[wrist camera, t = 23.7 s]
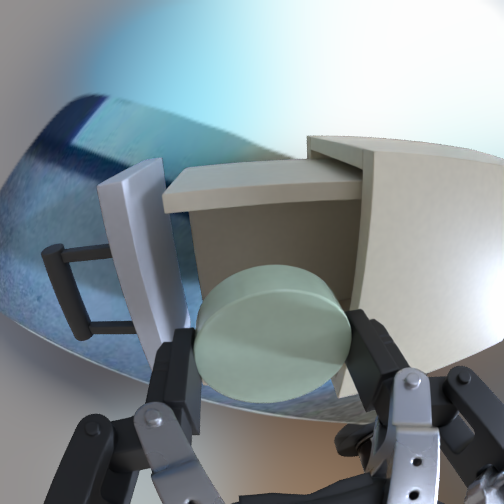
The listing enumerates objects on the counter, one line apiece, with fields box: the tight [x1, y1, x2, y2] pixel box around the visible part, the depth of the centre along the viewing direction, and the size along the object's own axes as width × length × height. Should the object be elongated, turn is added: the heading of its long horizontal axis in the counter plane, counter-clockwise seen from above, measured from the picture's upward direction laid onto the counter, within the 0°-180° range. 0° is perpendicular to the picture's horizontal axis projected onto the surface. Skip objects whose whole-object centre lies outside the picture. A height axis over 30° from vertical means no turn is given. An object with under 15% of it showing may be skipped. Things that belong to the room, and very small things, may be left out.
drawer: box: [41, 157, 363, 385], centre depth 16 cm, size 20×13×7 cm, turn 93°
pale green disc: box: [193, 265, 352, 403], centre depth 11 cm, size 6×6×2 cm
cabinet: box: [307, 136, 504, 398], centre depth 17 cm, size 16×14×9 cm
